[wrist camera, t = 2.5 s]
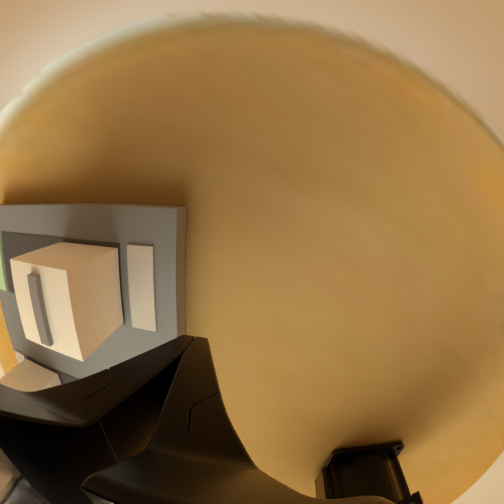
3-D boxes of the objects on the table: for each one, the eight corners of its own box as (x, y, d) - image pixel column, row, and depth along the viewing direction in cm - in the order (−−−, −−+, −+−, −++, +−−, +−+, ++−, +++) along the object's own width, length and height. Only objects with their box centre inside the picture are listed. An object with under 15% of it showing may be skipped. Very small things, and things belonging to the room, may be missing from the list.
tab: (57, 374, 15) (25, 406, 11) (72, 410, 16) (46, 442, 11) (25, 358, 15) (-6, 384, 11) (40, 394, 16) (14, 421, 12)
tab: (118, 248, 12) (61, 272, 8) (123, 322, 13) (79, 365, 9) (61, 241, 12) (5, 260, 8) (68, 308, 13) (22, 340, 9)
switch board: (187, 206, 13) (175, 208, 12) (193, 446, 17) (189, 461, 16) (2, 204, 14) (-13, 206, 12) (42, 393, 18) (33, 402, 16)
